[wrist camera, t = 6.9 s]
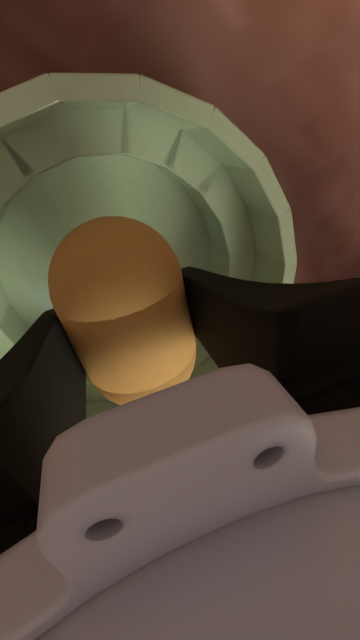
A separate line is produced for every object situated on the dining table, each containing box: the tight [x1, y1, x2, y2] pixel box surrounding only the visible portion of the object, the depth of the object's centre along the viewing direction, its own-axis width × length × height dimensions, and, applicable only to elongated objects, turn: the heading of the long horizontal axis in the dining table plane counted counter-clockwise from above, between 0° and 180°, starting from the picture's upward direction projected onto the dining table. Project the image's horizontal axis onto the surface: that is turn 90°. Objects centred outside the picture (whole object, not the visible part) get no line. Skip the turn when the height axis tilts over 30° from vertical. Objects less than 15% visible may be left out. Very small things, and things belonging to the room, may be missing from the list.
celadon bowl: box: [0, 72, 297, 418], centre depth 13 cm, size 14×14×6 cm
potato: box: [48, 216, 196, 405], centre depth 11 cm, size 7×4×4 cm, turn 11°
